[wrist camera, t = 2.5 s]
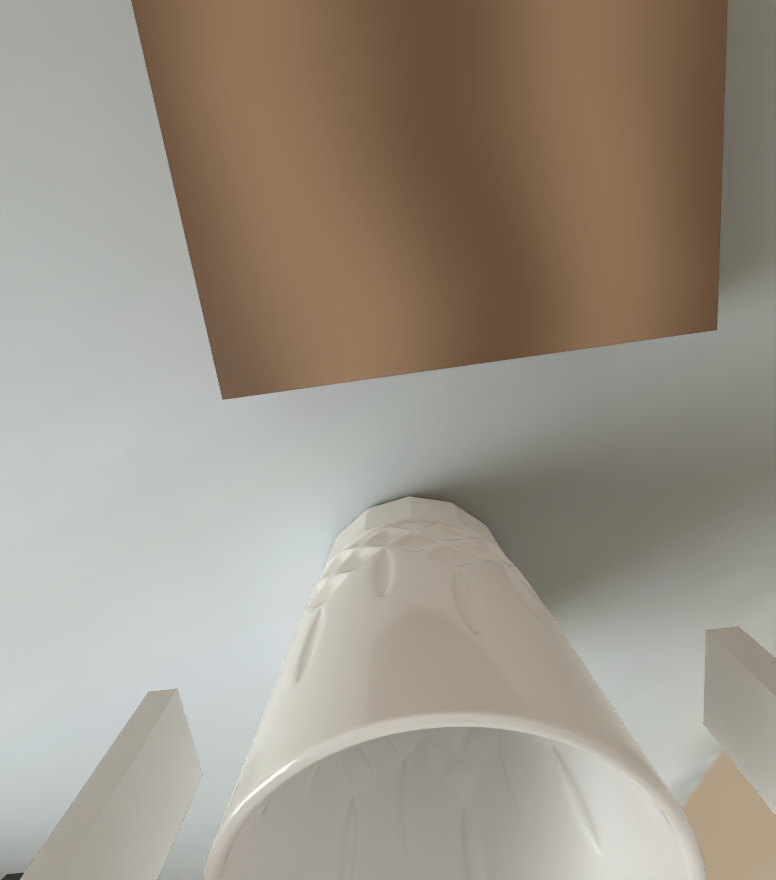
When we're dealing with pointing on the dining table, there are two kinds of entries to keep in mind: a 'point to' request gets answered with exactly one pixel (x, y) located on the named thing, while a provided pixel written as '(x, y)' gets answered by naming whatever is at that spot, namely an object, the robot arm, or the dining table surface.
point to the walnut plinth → (439, 177)
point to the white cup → (441, 730)
